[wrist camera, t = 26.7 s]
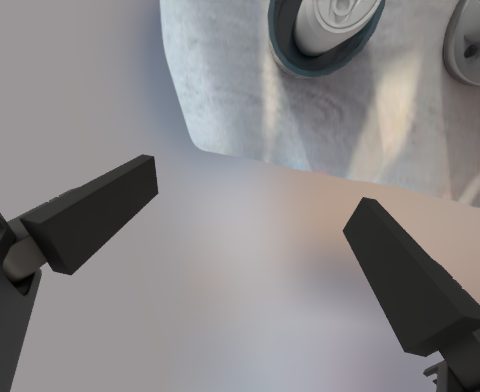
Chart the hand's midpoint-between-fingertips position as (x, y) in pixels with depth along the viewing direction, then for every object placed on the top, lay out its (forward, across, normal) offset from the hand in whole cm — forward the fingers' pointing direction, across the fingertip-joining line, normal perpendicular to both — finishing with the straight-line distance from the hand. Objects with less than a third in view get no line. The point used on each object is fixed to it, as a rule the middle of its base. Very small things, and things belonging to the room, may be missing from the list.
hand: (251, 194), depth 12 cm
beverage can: (+24, +4, +14) cm, 28 cm away
